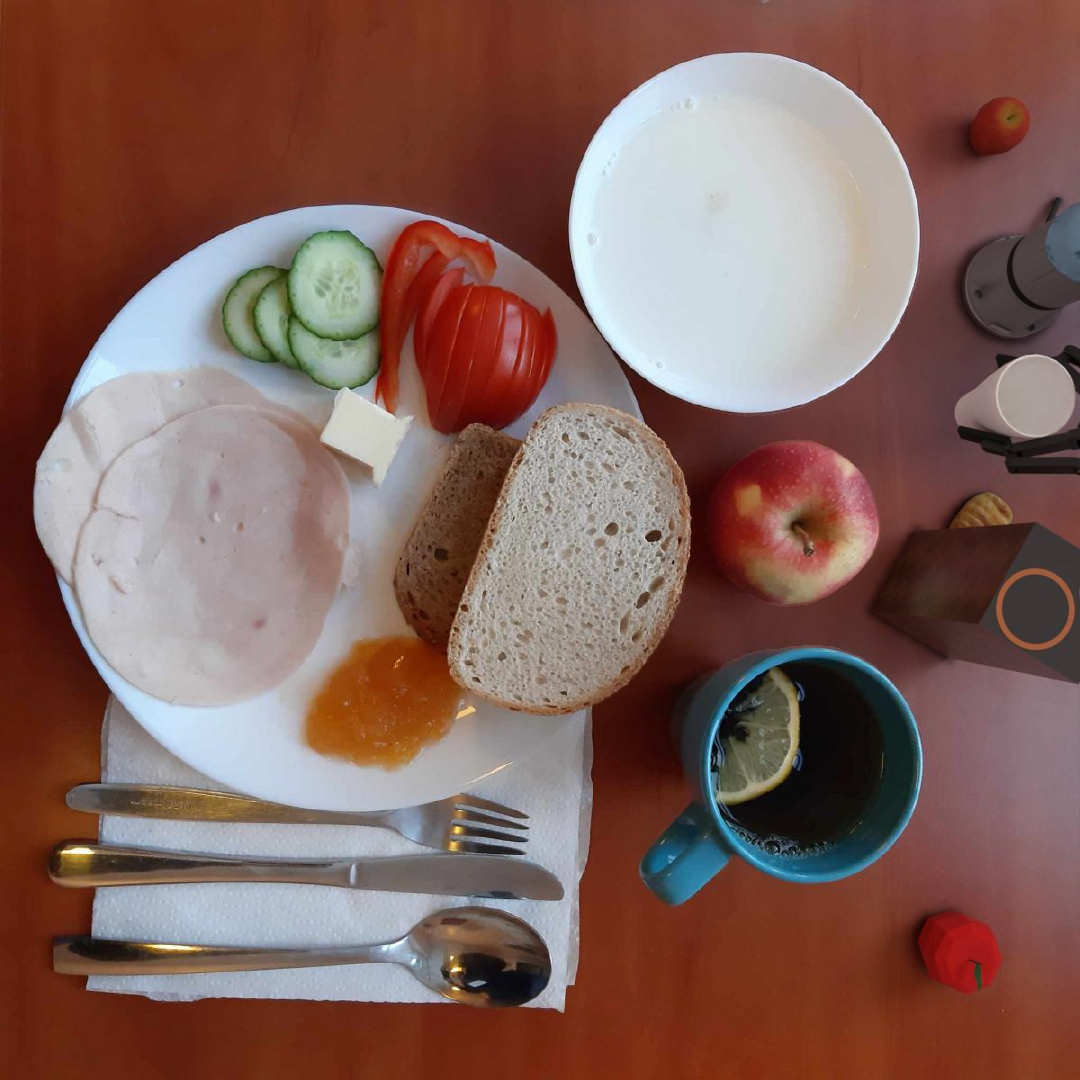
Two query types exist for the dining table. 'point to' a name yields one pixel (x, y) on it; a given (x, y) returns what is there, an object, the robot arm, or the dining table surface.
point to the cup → (1020, 399)
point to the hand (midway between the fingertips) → (979, 396)
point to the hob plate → (1041, 602)
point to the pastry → (983, 512)
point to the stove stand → (958, 594)
